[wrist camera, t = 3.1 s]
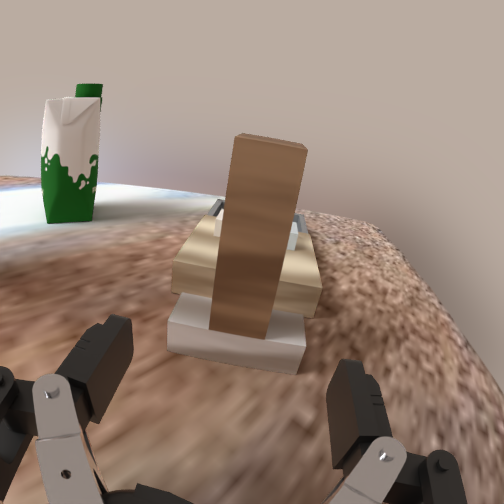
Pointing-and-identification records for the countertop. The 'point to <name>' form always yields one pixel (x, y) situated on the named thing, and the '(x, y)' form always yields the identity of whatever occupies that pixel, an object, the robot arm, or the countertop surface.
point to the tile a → (218, 224)
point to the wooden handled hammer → (249, 266)
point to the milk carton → (71, 154)
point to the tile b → (293, 237)
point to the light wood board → (291, 279)
